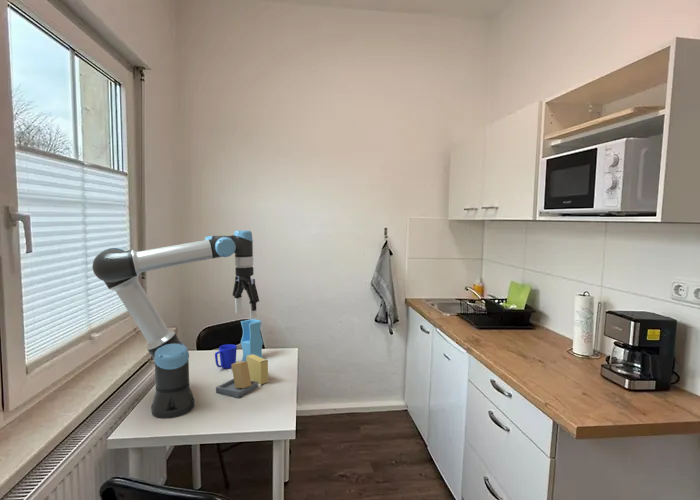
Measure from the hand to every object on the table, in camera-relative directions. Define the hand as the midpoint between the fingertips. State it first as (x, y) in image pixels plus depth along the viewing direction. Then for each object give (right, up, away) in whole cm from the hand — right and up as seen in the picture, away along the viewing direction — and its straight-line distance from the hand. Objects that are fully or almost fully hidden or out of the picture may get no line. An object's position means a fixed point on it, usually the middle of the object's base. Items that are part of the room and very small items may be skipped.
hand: (245, 315), depth 180 cm
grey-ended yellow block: (+4, -30, +5) cm, 30 cm away
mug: (-15, -29, +20) cm, 38 cm away
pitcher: (-5, -28, +32) cm, 43 cm away
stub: (+1, -29, -7) cm, 29 cm away
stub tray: (-2, -30, -6) cm, 31 cm away
